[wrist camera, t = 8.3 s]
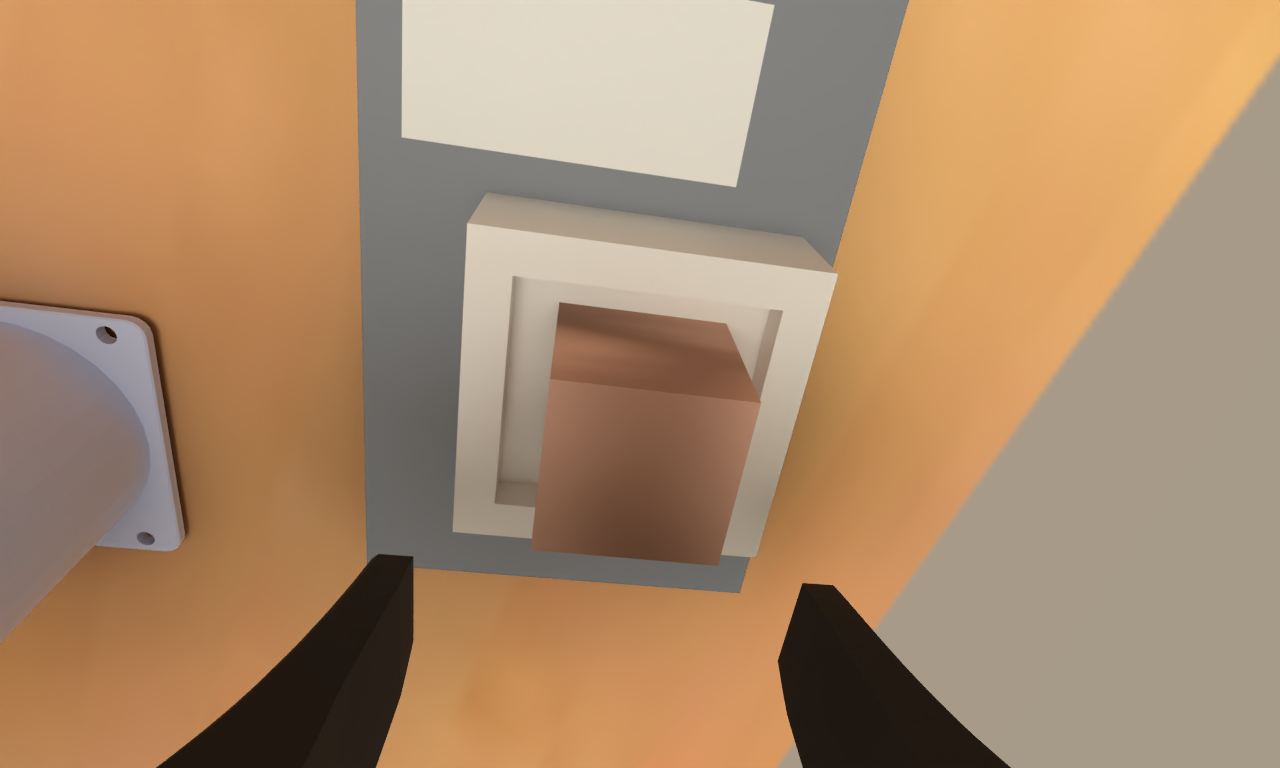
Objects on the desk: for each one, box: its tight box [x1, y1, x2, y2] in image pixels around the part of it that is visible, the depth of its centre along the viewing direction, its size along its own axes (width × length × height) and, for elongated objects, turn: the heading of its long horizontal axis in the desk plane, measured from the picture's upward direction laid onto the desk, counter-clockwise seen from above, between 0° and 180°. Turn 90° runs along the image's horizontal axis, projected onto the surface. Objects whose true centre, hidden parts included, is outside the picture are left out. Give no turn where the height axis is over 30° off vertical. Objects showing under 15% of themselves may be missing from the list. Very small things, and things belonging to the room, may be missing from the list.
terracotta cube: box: [531, 302, 761, 566], centre depth 16 cm, size 4×4×4 cm
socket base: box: [453, 192, 838, 558], centre depth 18 cm, size 8×8×3 cm
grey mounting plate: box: [356, 0, 909, 593], centre depth 20 cm, size 12×18×2 cm, turn 171°
